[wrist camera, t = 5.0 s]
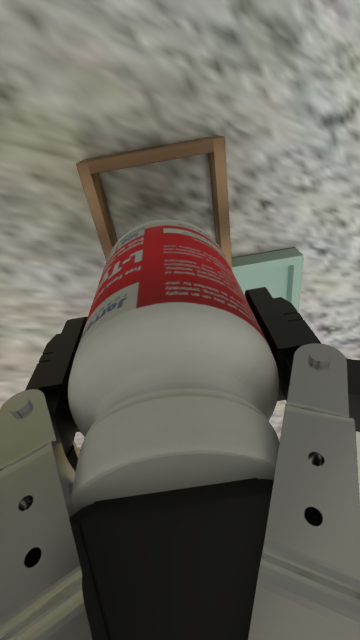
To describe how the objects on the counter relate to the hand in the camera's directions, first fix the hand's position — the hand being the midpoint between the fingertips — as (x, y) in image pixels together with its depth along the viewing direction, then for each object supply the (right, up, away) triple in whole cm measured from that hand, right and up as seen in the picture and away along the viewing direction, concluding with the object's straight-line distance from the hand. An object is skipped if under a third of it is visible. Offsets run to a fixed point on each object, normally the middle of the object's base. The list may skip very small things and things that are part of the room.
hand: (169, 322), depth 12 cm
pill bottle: (0, +2, +4) cm, 4 cm away
